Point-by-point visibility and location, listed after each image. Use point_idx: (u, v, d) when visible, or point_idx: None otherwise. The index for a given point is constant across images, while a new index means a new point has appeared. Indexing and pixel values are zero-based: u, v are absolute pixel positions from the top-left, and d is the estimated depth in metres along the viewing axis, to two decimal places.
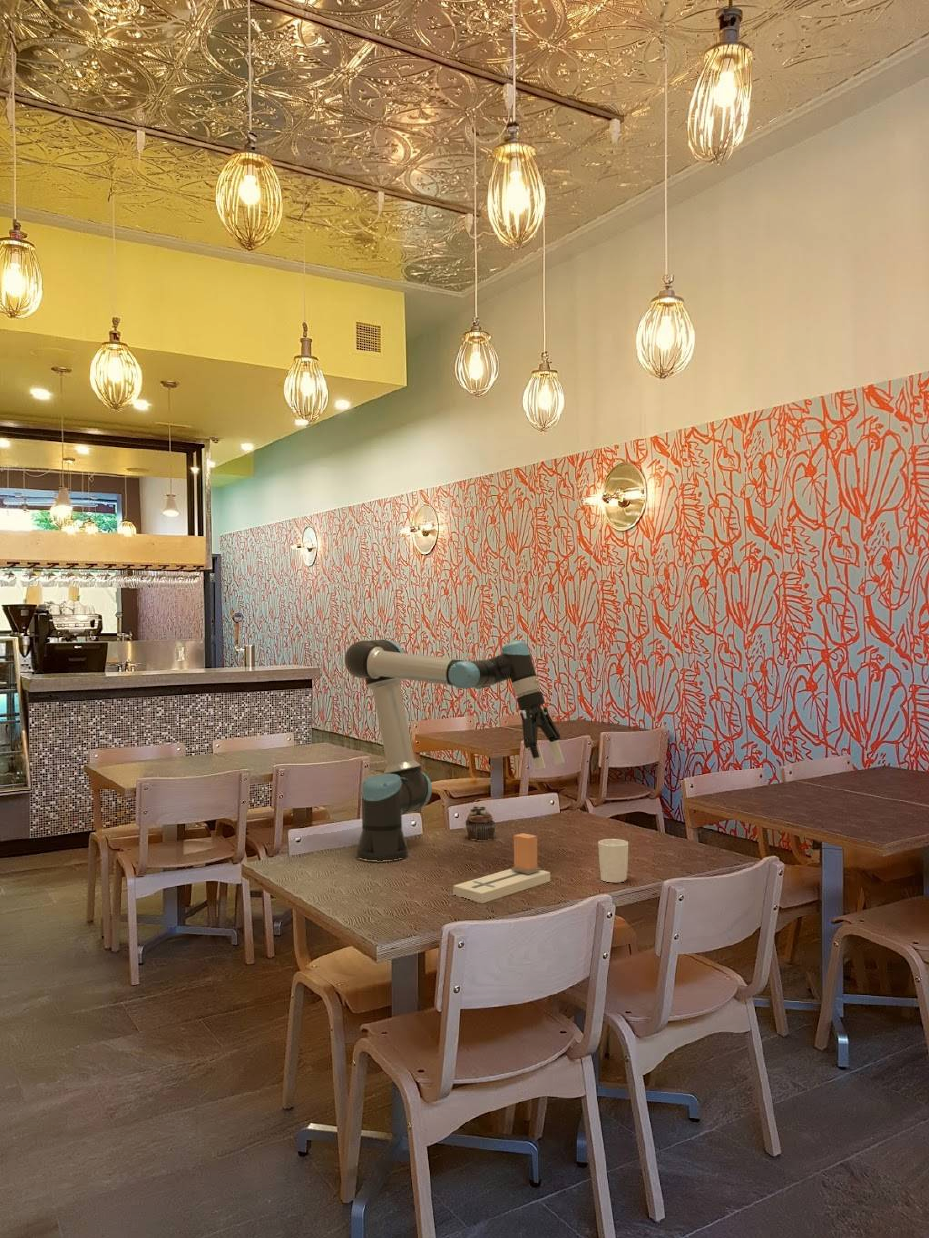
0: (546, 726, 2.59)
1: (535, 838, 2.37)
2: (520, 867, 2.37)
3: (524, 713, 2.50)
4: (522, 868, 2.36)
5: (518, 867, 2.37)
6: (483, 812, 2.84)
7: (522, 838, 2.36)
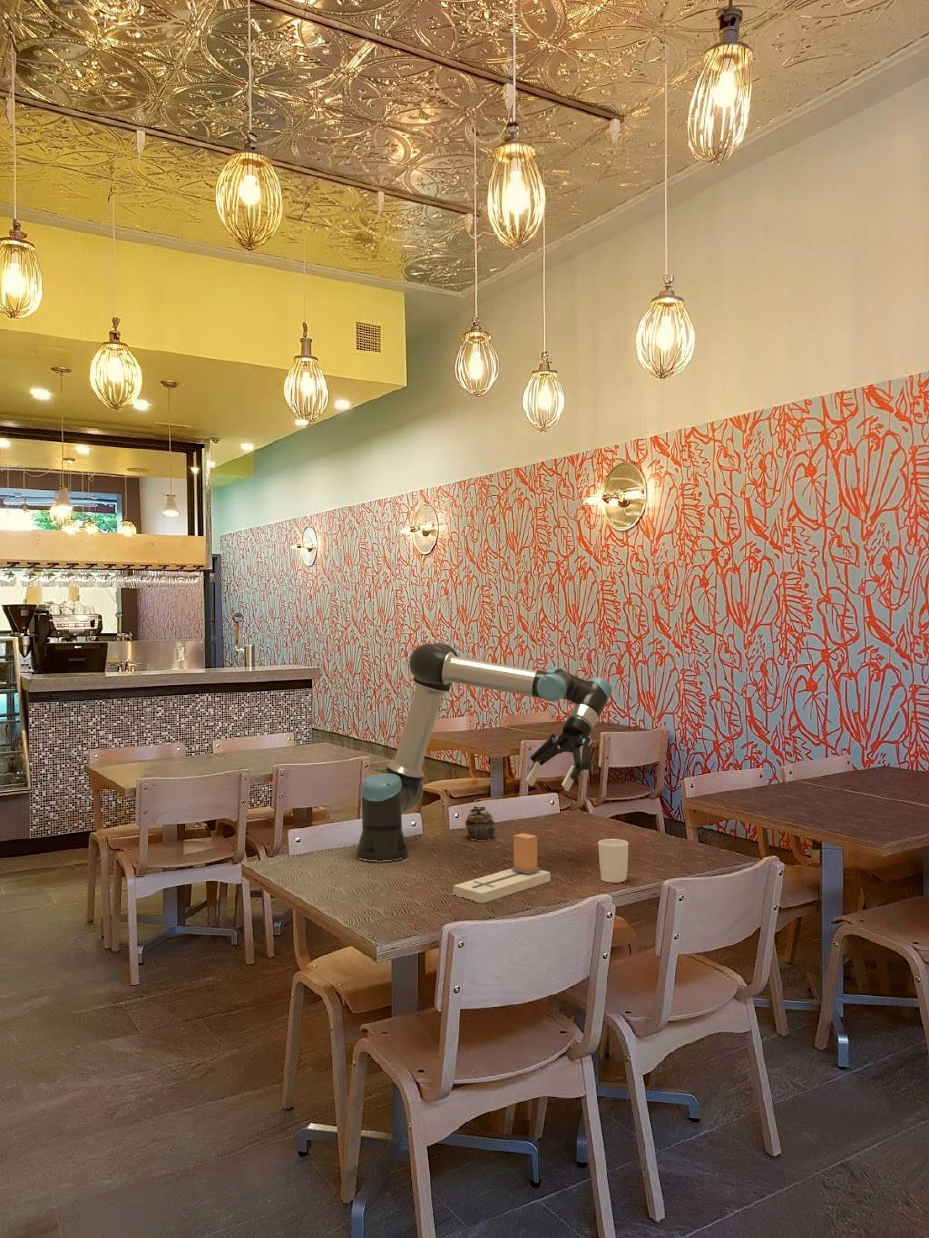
0: (556, 753, 2.53)
1: (535, 838, 2.37)
2: (520, 867, 2.37)
3: (591, 741, 2.48)
4: (522, 868, 2.36)
5: (518, 867, 2.37)
6: (483, 812, 2.84)
7: (522, 838, 2.36)
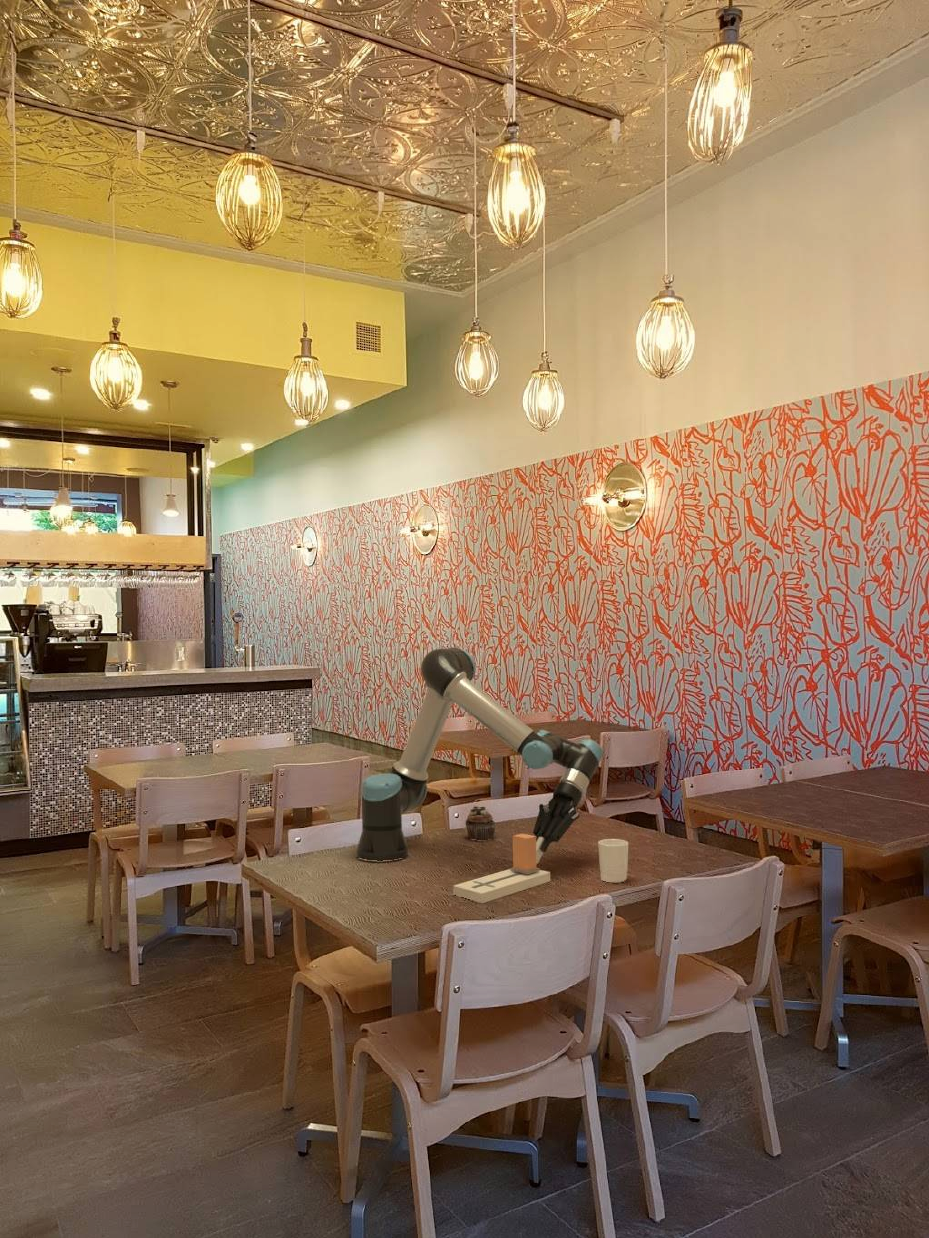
0: None
1: (534, 838, 2.37)
2: (519, 867, 2.36)
3: (576, 815, 2.43)
4: (521, 868, 2.36)
5: (517, 867, 2.37)
6: (483, 812, 2.84)
7: (521, 838, 2.36)
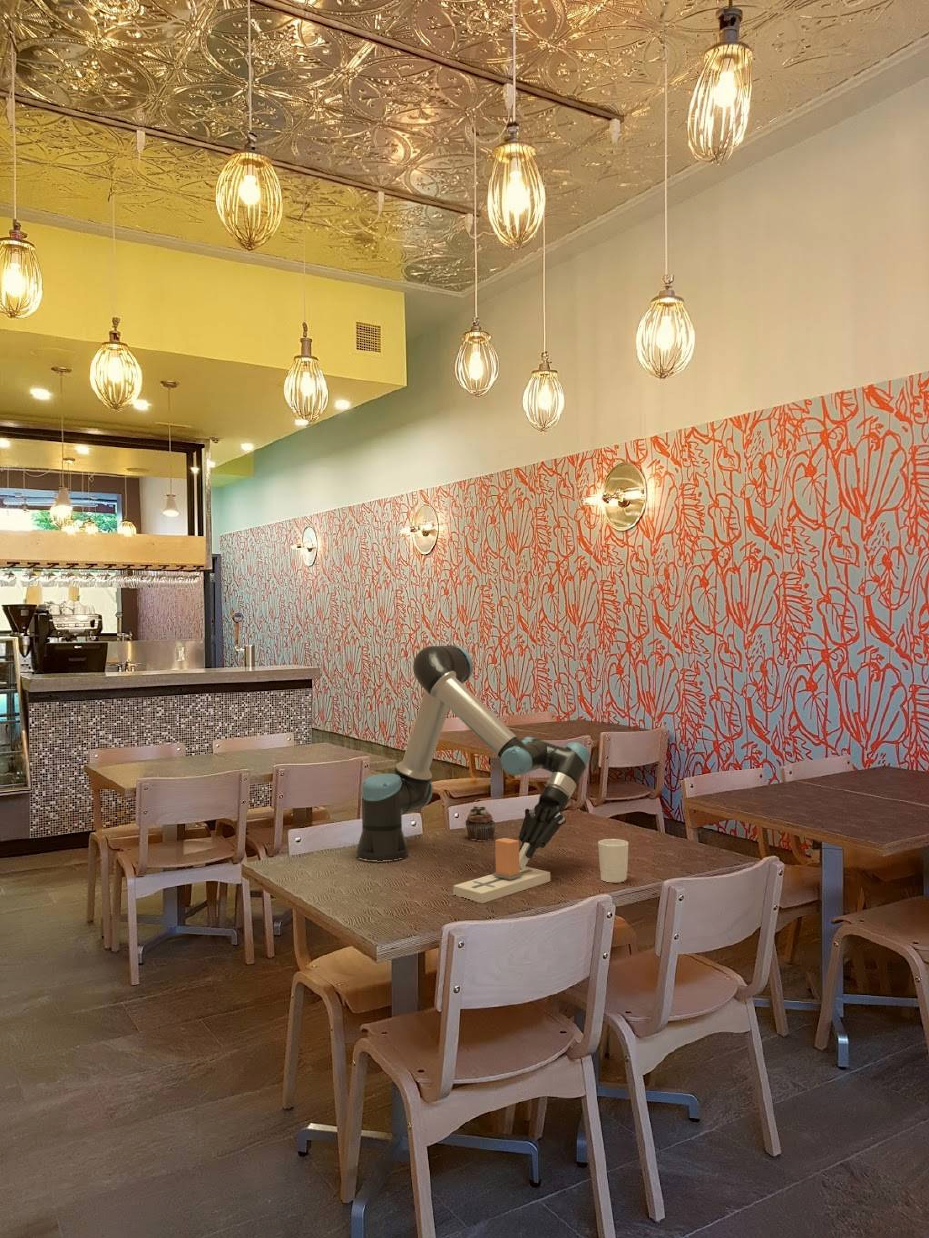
0: None
1: (517, 843, 2.32)
2: (502, 872, 2.32)
3: (563, 820, 2.38)
4: (504, 873, 2.31)
5: (500, 872, 2.32)
6: (483, 812, 2.84)
7: (504, 843, 2.31)
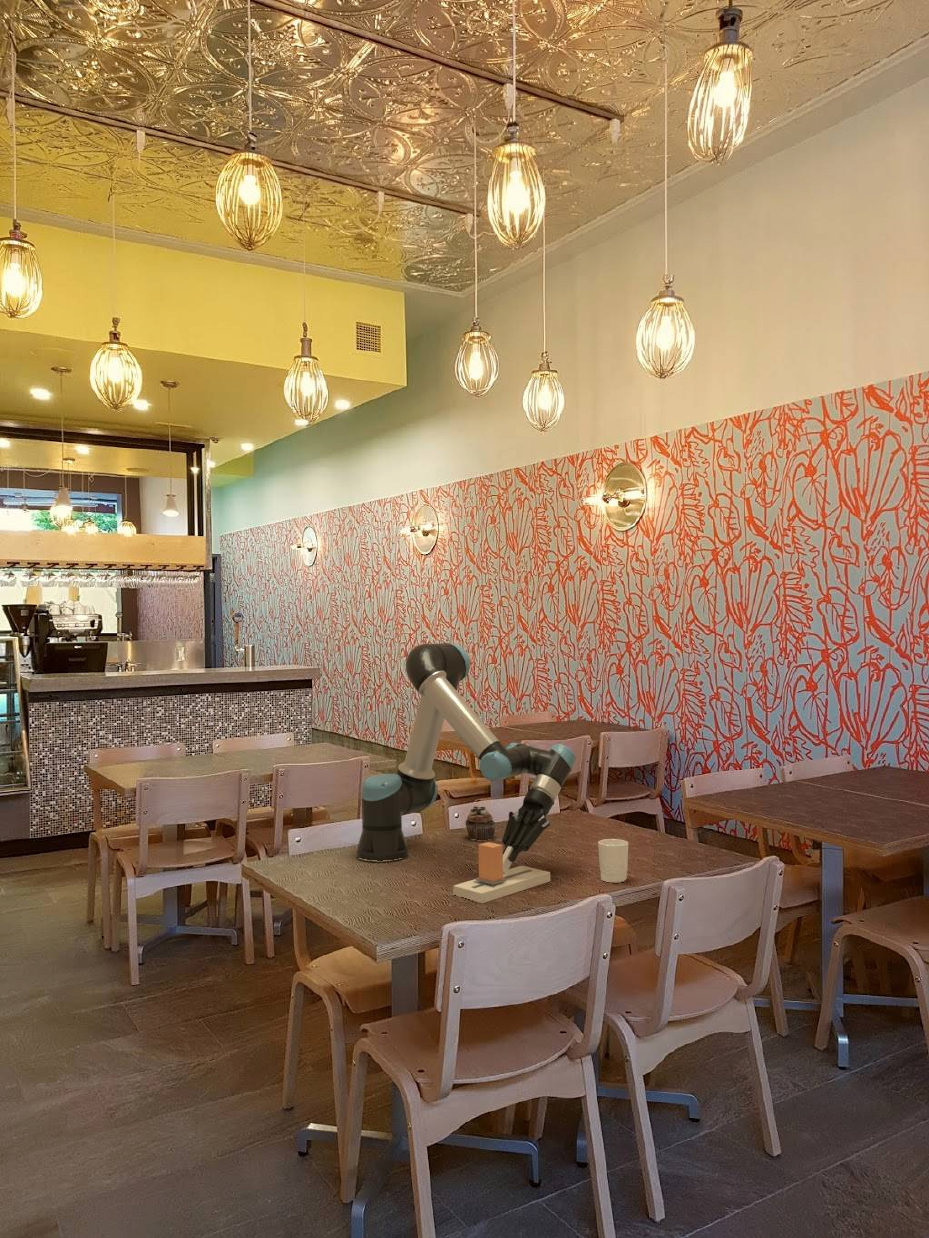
0: None
1: (500, 847, 2.27)
2: (485, 877, 2.27)
3: (546, 823, 2.34)
4: (487, 879, 2.27)
5: (483, 877, 2.28)
6: (483, 812, 2.84)
7: (487, 847, 2.27)
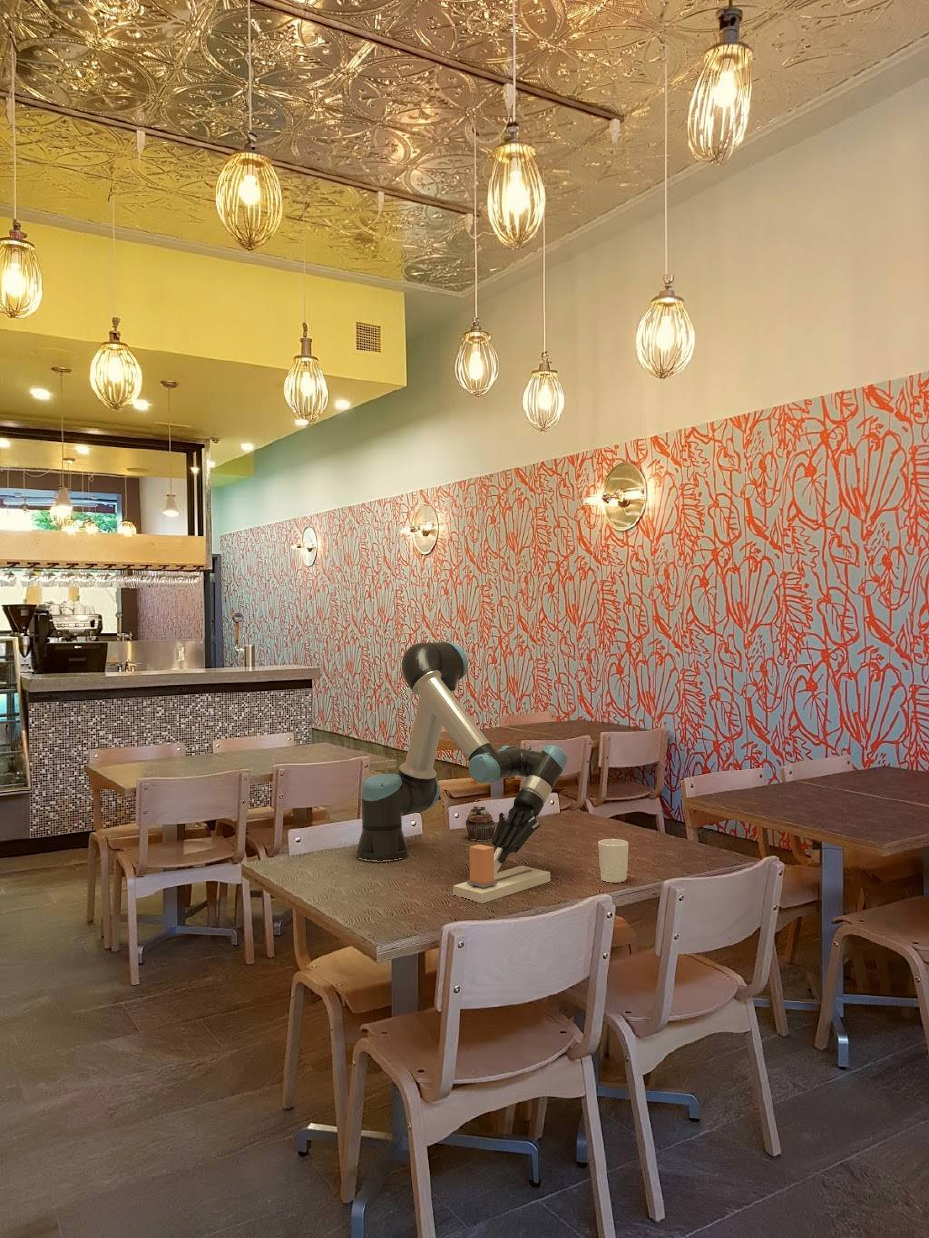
0: None
1: (492, 850, 2.25)
2: (476, 880, 2.25)
3: (537, 824, 2.32)
4: (478, 881, 2.24)
5: (474, 880, 2.25)
6: (483, 812, 2.84)
7: (478, 850, 2.24)
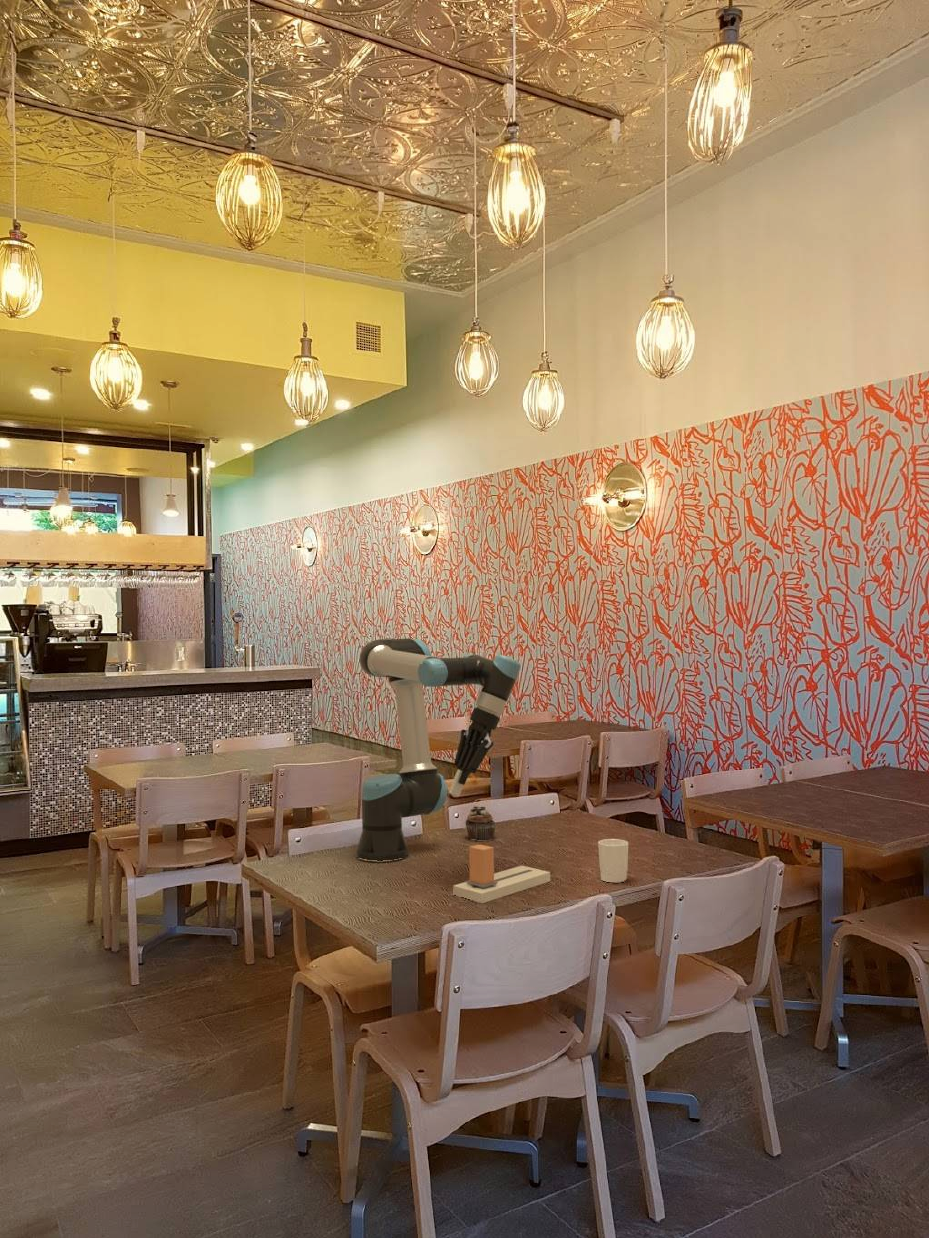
0: None
1: (491, 850, 2.25)
2: (476, 880, 2.25)
3: (489, 744, 2.34)
4: (478, 881, 2.24)
5: (474, 880, 2.25)
6: (483, 812, 2.84)
7: (478, 850, 2.24)
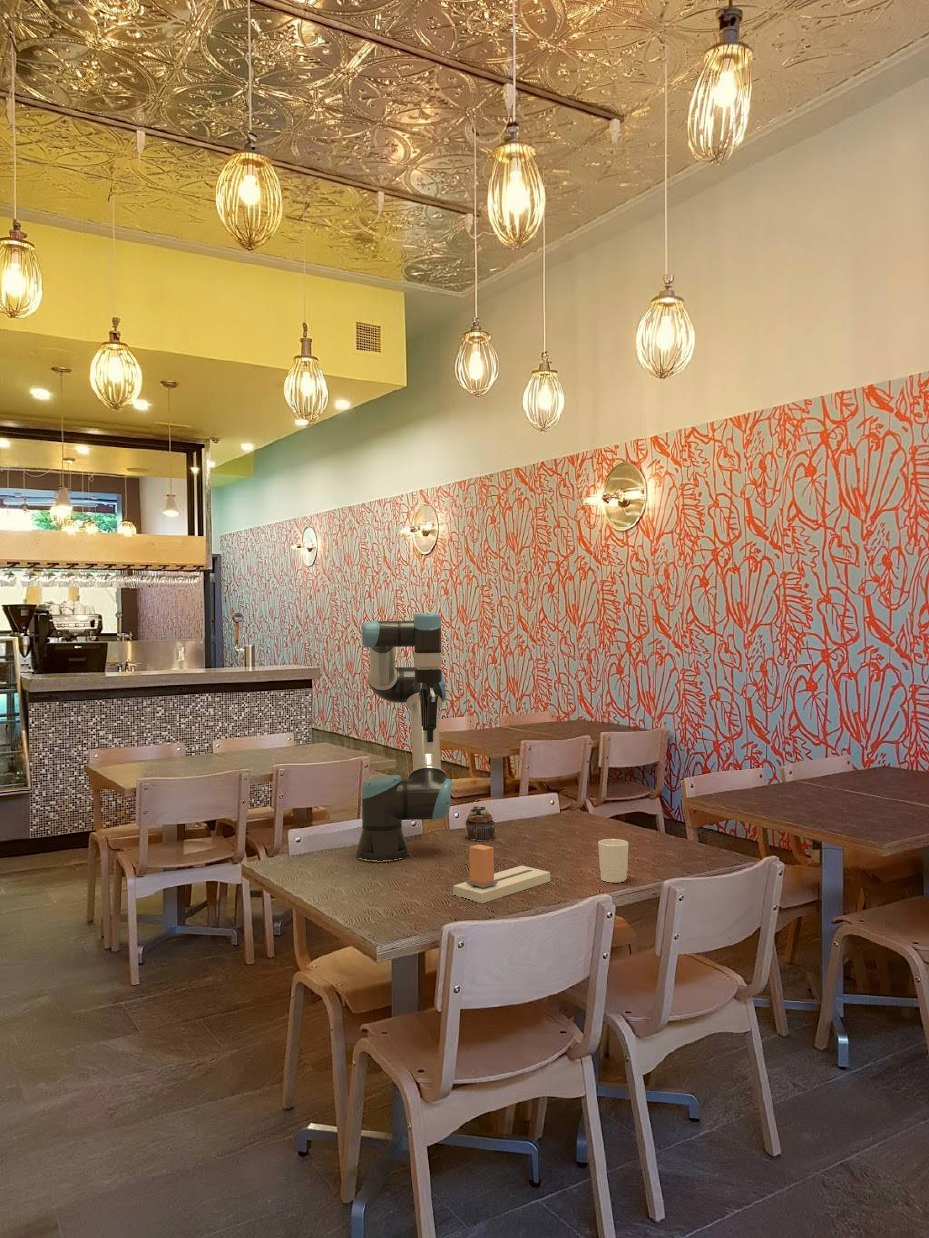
0: None
1: (491, 850, 2.25)
2: (476, 880, 2.25)
3: (433, 698, 2.44)
4: (478, 881, 2.24)
5: (474, 880, 2.25)
6: (483, 812, 2.84)
7: (478, 850, 2.24)
